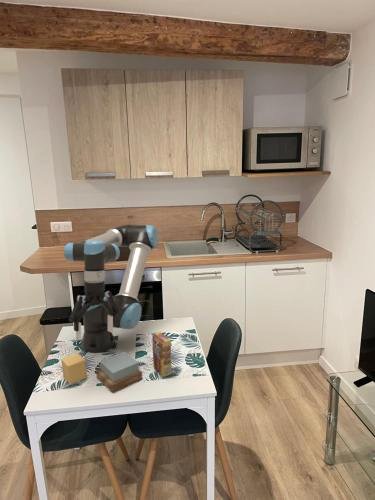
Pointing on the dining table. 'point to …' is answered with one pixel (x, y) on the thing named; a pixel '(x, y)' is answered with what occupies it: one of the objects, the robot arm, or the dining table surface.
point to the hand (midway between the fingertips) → (94, 335)
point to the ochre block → (74, 368)
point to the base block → (118, 384)
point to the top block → (119, 366)
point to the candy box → (161, 354)
